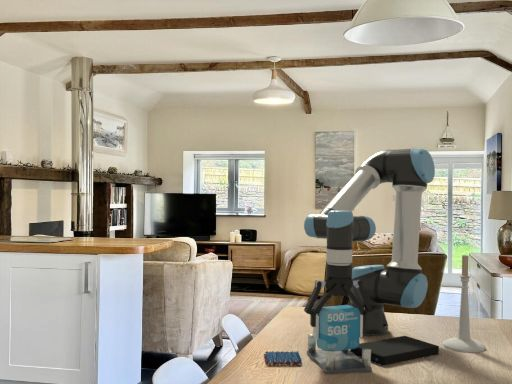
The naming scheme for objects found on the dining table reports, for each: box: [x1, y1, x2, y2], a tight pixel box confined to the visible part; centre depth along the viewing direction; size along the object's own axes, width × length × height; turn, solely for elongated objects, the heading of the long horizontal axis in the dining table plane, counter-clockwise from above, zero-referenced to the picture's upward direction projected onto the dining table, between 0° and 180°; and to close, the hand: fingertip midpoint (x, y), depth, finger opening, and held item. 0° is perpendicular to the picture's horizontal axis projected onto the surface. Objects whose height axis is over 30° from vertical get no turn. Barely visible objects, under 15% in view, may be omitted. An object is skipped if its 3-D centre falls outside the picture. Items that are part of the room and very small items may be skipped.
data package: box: [316, 304, 360, 351], centre depth 166 cm, size 12×4×12 cm, turn 116°
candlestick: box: [442, 254, 486, 354], centre depth 184 cm, size 13×13×30 cm
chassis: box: [306, 333, 373, 375], centre depth 166 cm, size 13×20×6 cm, turn 12°
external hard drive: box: [349, 335, 440, 367], centre depth 176 cm, size 14×23×3 cm, turn 121°
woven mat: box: [263, 350, 303, 367], centre depth 167 cm, size 10×11×2 cm
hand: (337, 337), depth 166 cm, fingers closed on data package, 13 cm apart
